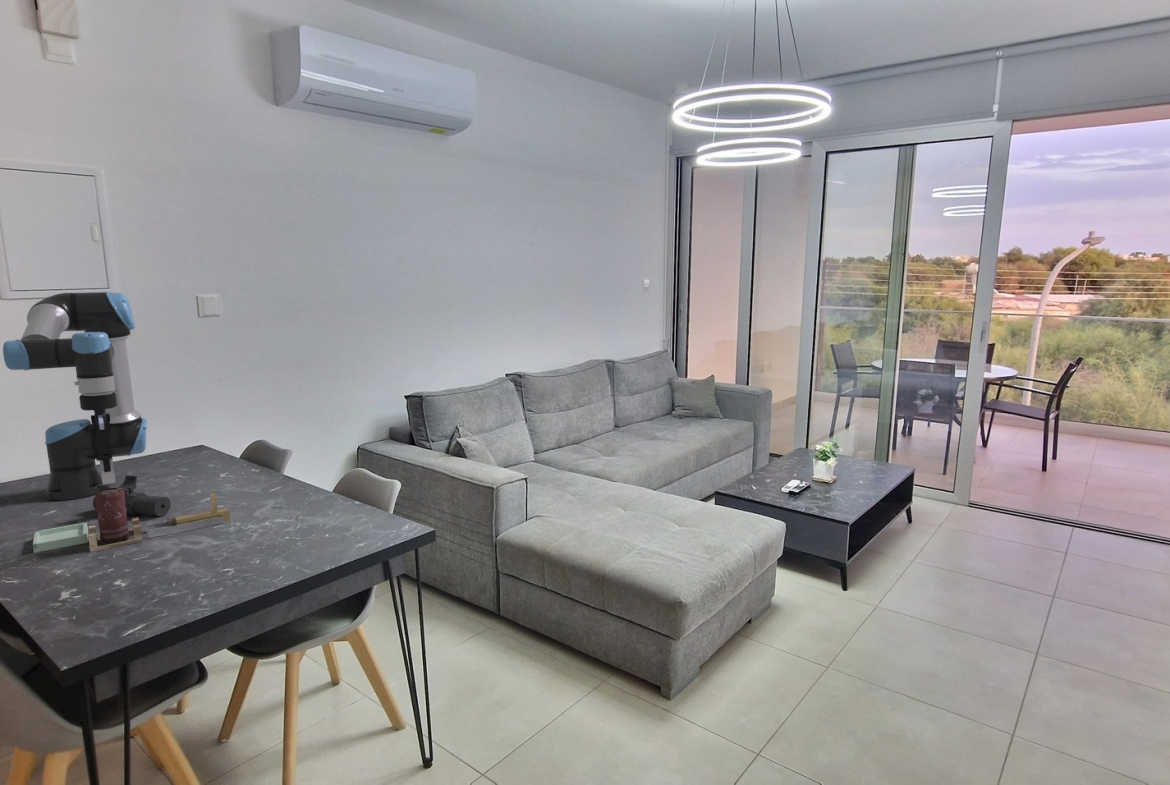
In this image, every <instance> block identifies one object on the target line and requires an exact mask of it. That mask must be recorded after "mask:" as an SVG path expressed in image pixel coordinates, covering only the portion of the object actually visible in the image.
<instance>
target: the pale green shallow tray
mask: <svg viewBox="0 0 1170 785" xmlns="http://www.w3.org/2000/svg"><path fill="white" fill-rule="evenodd" d="M88 527H89V526H88V522H87V521H86V522H82V523H81V522H80V523H76V524H70V525H69V524H68V525H64V526H58V527H53V528H47V529H41V530H35V532H34V537H33V541H32V550H33V554H34V553H41V552H45V551H51V550H56V549H61V548H67V547H72V546H76V545H81V544H82V545H83V544H87V543H89V538H88Z"/></svg>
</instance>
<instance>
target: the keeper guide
mask: <svg viewBox="0 0 1170 785" xmlns="http://www.w3.org/2000/svg"><path fill="white" fill-rule="evenodd" d="M223 524H225V522H224V519H223V516H219V517H213V518H208V519H203V520H198V521H192V522H187V523H182V524H176V525H171V526H168V524H167V520H162V521H158V522H154V523H153V522H151V523H148V524H147V523H146V524H145V527H146V528H145V529H146V533H147V538H148V539H151V538H155V537H161V536H166V535H172V534H177V533H182V532H188V531H192V530H196V529H197V530H198V529H201V528H209V527H213V526H218V525H223Z"/></svg>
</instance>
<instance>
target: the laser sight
mask: <svg viewBox="0 0 1170 785" xmlns="http://www.w3.org/2000/svg"><path fill="white" fill-rule="evenodd" d="M137 479H138V476H137V475H129V474H127V475H125V479H124V481H123V483H122V484H120V485H119V486H117V487H116V488H122V489H123V490H124V495H125V506H126V514H127V516H141V515H146V516H156V517H157V516H158V517H164V516H165V515H167V514H168V513H169V512H170V509H171V506H172V505H171V500H170V499H169V498H168V497H166V496H157V495H148V494H146V493H143V492H134V489H135V490H136V488H137ZM97 486H98V488H99V491H100V490H104V489H109V488H111V487H110V485H109V484H105V485H97ZM92 506H93V508H94V510H95V511H97V509H96V501H95V496H94V497H93V501H92Z"/></svg>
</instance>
